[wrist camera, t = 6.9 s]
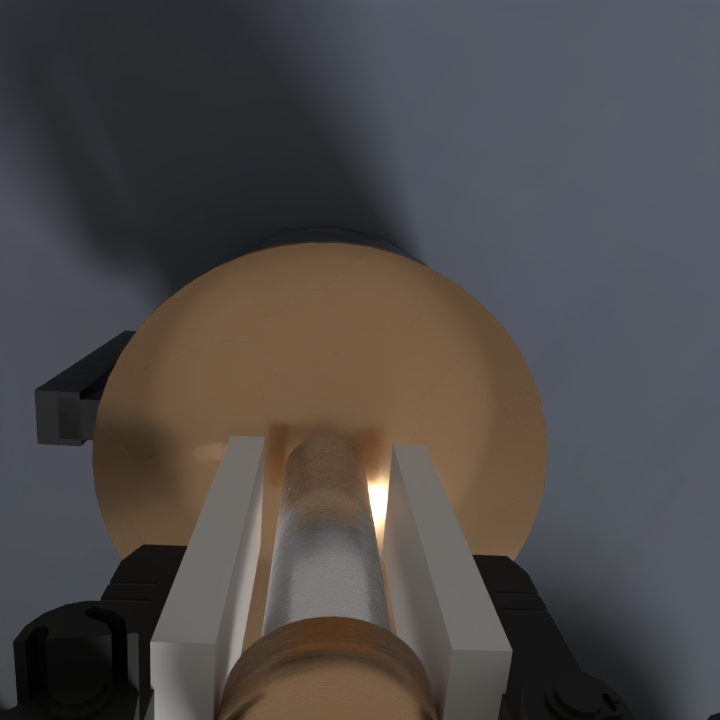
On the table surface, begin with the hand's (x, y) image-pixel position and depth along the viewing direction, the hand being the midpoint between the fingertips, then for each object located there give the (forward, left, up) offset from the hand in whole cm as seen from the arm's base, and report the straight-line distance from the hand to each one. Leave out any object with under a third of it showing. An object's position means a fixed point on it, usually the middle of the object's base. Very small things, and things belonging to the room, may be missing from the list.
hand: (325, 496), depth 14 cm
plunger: (0, 0, -14) cm, 14 cm away
